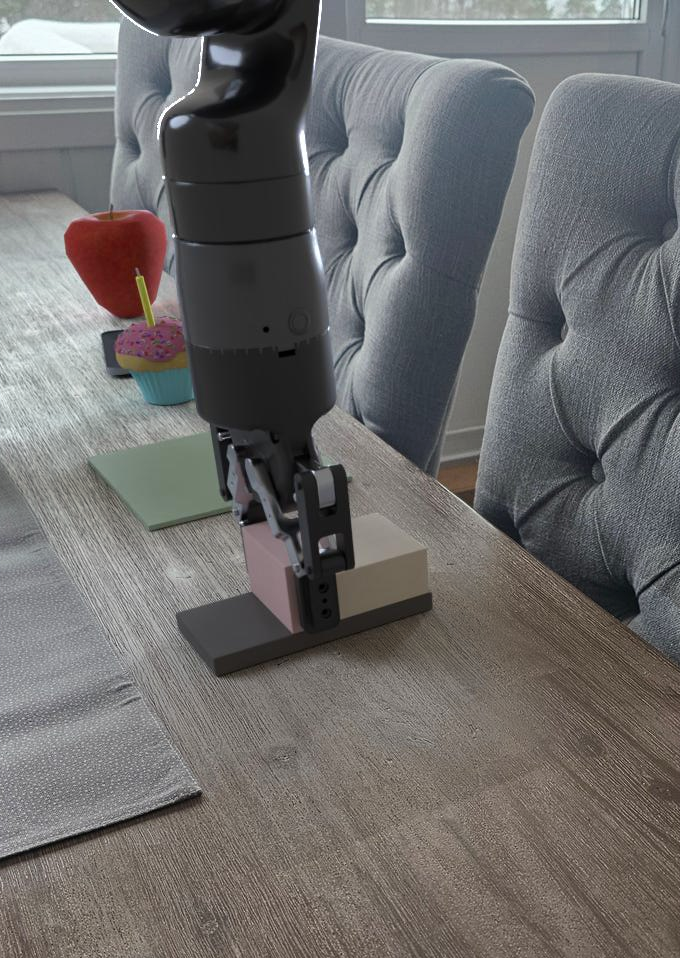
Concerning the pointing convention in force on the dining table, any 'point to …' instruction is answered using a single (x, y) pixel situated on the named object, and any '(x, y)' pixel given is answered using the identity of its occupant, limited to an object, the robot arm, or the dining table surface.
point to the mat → (167, 480)
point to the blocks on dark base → (275, 603)
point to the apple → (118, 257)
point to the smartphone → (111, 352)
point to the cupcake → (156, 355)
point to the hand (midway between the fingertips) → (292, 600)
